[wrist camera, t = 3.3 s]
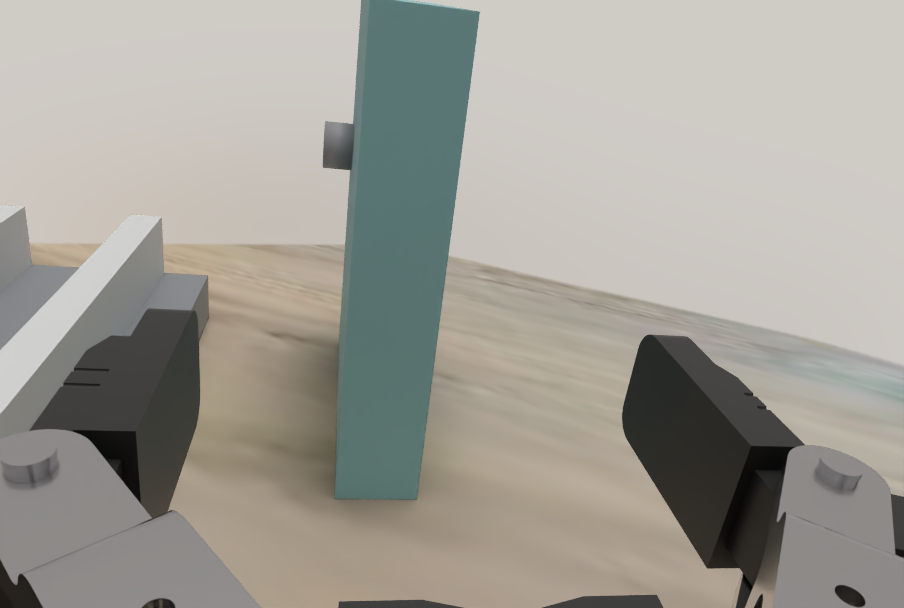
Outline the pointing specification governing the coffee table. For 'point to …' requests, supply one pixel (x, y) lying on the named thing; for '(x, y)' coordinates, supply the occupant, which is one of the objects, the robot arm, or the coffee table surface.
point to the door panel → (396, 234)
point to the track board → (76, 307)
